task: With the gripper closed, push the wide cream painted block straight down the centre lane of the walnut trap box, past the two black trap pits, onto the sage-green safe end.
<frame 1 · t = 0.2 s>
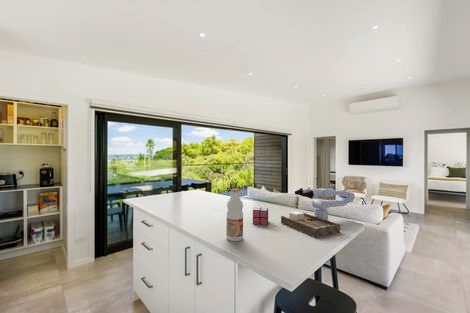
hand: (298, 193, 152), 21 cm above the table, tool horizontal, fingers open, 7 cm apart
puzzle cube: (260, 223, 157), on the table
trap box: (305, 226, 149), on the table
fruit juice: (234, 238, 126), on the table
cream block: (296, 218, 157), point 3 cm above the table, touching trap box
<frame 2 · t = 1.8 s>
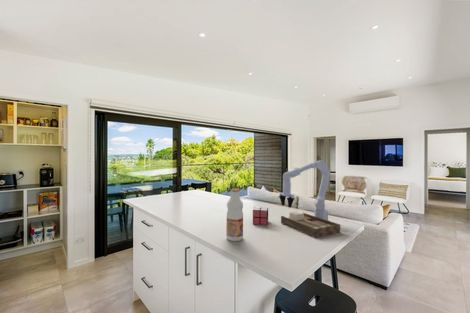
hand: (286, 206, 167), 9 cm above the table, tool pointing down, fingers open, 7 cm apart
nothing on the table moved.
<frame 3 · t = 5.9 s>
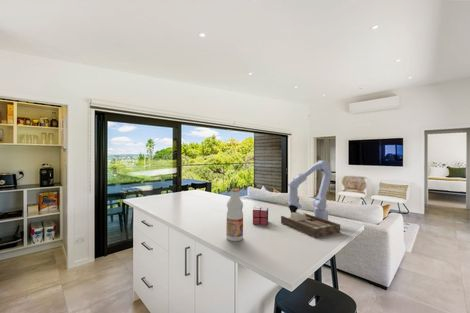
hand: (293, 215, 160), 4 cm above the table, tool pointing down, fingers closed
cream block: (297, 219, 156), point 3 cm above the table, touching gripper
everything else where it was.
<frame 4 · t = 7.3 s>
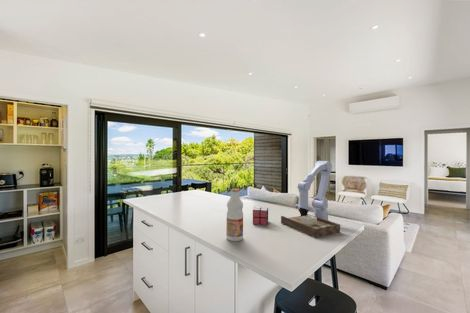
hand: (303, 219, 151), 4 cm above the table, tool pointing down, fingers closed
cream block: (308, 223, 147), point 3 cm above the table, touching gripper, trap box
everything else where it was.
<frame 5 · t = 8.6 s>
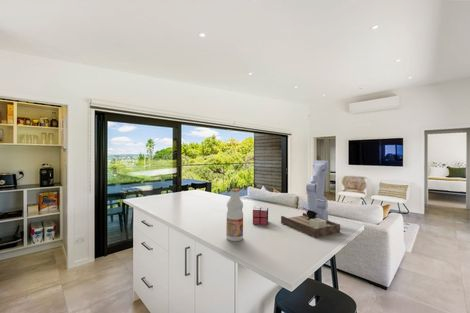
hand: (311, 222, 145), 4 cm above the table, tool pointing down, fingers closed
cream block: (317, 226, 140), point 3 cm above the table, touching gripper, trap box
everything else where it was.
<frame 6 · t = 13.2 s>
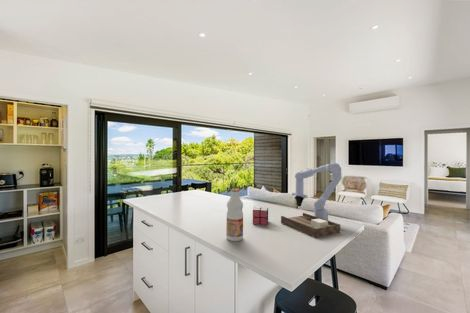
hand: (299, 206, 168), 9 cm above the table, tool pointing down, fingers closed
cream block: (319, 226, 139), point 3 cm above the table, touching trap box
everything else where it was.
at the end: cream block inside the target area (1.3 cm from its centre), point 3.0 cm above the table; cream block tilted 0° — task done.
